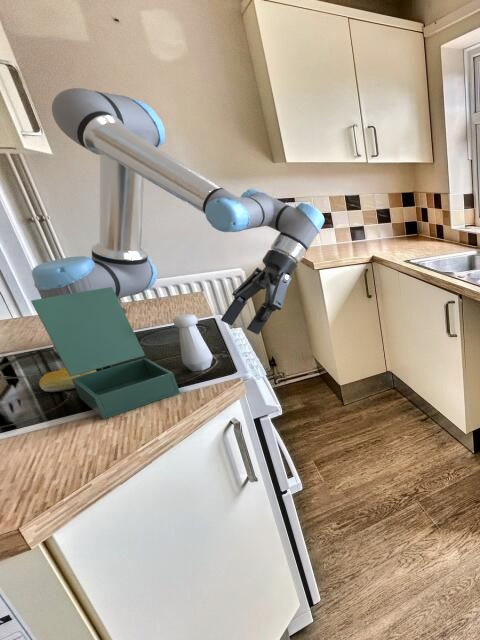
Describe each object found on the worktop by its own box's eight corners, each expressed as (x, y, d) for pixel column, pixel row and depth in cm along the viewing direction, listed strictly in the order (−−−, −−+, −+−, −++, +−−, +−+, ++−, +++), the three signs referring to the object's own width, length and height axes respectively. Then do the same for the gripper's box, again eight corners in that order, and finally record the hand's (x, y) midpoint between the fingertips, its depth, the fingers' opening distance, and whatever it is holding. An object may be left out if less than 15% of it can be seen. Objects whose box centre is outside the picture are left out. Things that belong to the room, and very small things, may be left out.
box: (180, 392, 88) (172, 372, 86) (103, 419, 78) (94, 397, 77) (152, 376, 96) (145, 357, 94) (80, 398, 86) (71, 378, 85)
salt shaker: (192, 375, 96) (174, 320, 91) (180, 369, 98) (162, 317, 94) (219, 365, 100) (204, 313, 95) (208, 360, 103) (192, 310, 98)
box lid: (112, 286, 91) (111, 287, 91) (31, 300, 82) (30, 301, 82) (145, 355, 94) (144, 356, 94) (70, 376, 84) (70, 376, 85)
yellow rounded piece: (32, 392, 90) (23, 375, 88) (79, 374, 98) (72, 358, 96) (63, 394, 88) (55, 377, 87) (108, 376, 96) (101, 360, 95)
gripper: (322, 269, 107) (278, 343, 101) (271, 261, 120) (229, 326, 114) (298, 251, 101) (249, 328, 95) (247, 245, 114) (201, 312, 108)
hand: (238, 327), depth 105 cm, fingers open, 13 cm apart
